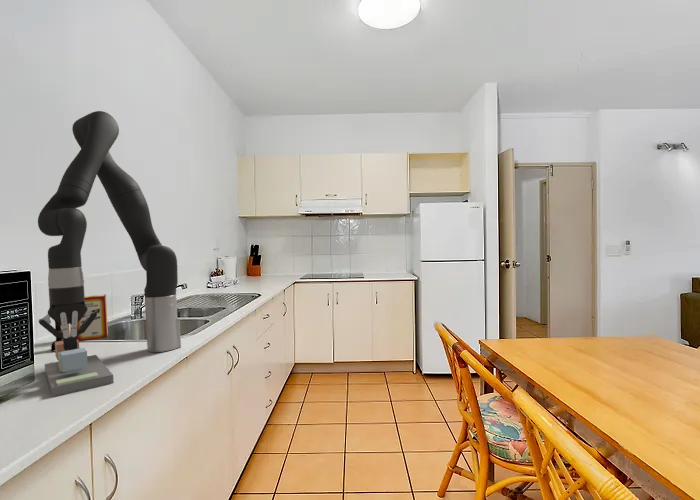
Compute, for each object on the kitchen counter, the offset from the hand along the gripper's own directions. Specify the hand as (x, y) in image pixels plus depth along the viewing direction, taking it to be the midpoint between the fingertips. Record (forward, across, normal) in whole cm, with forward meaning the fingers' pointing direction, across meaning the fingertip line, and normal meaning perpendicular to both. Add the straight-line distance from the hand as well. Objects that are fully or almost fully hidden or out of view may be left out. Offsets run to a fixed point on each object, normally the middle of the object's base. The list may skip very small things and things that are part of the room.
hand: (70, 351), depth 105 cm
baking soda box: (+7, -12, -51) cm, 52 cm away
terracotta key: (+3, 0, -8) cm, 8 cm away
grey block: (+3, 0, +7) cm, 8 cm away
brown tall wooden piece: (+7, -2, -39) cm, 39 cm away
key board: (+6, -1, +2) cm, 7 cm away
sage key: (+4, 0, 0) cm, 4 cm away
